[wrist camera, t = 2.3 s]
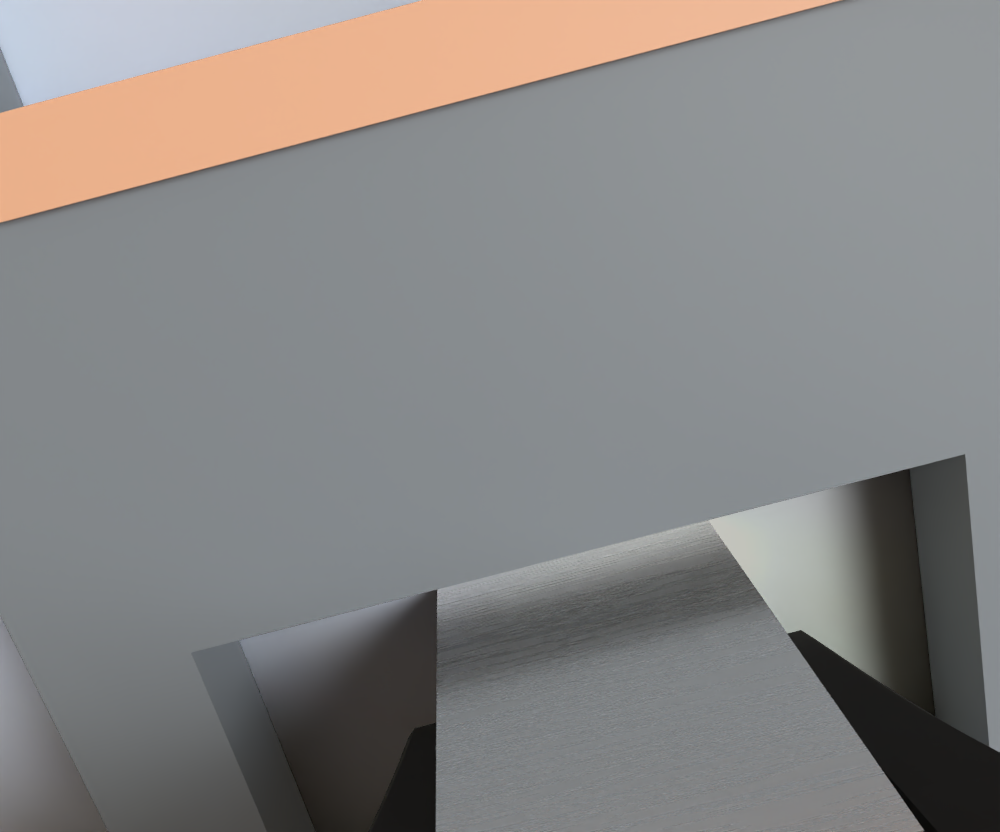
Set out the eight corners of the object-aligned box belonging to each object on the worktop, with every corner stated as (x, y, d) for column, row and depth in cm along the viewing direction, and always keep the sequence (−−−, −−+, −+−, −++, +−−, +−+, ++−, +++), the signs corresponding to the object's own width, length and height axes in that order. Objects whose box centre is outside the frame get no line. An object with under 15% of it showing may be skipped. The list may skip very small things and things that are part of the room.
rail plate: (299, 1089, 15) (283, 1200, 14) (-675, -999, 7) (-992, -1322, 6) (1068, 897, 15) (1143, 988, 14) (950, -1469, 7) (1099, -1937, 6)
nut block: (503, 798, 14) (547, 1260, 8) (437, 584, 13) (435, 953, 7) (747, 737, 14) (962, 1159, 8) (704, 514, 13) (924, 831, 7)
